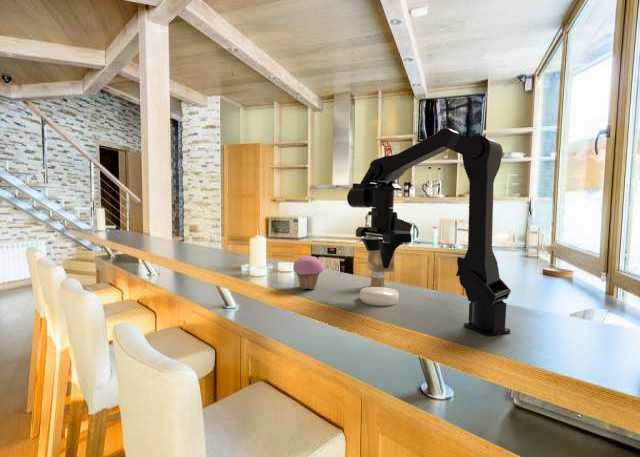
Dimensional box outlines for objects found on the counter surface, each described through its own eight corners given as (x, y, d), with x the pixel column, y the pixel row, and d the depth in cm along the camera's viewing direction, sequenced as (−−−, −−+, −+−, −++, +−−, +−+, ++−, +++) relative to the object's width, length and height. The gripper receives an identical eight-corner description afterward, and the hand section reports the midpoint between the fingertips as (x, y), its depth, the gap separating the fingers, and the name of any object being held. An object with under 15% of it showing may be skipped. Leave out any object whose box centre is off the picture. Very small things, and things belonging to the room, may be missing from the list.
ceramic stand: (405, 303, 88) (406, 294, 88) (372, 307, 85) (372, 297, 85) (384, 294, 98) (385, 285, 97) (353, 297, 94) (354, 288, 94)
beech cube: (393, 271, 89) (394, 252, 89) (377, 272, 87) (377, 253, 87) (383, 268, 94) (383, 250, 94) (367, 269, 92) (368, 250, 92)
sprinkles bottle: (376, 284, 110) (378, 243, 109) (387, 287, 107) (389, 244, 106) (367, 286, 107) (368, 244, 107) (378, 289, 104) (379, 245, 103)
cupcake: (321, 285, 107) (321, 254, 107) (323, 292, 99) (324, 258, 98) (293, 285, 107) (293, 253, 106) (292, 292, 98) (293, 257, 97)
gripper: (430, 208, 84) (428, 271, 85) (388, 208, 101) (387, 260, 102) (392, 208, 80) (390, 273, 81) (355, 207, 97) (354, 261, 98)
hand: (380, 266), depth 91 cm, fingers closed on beech cube, 5 cm apart
